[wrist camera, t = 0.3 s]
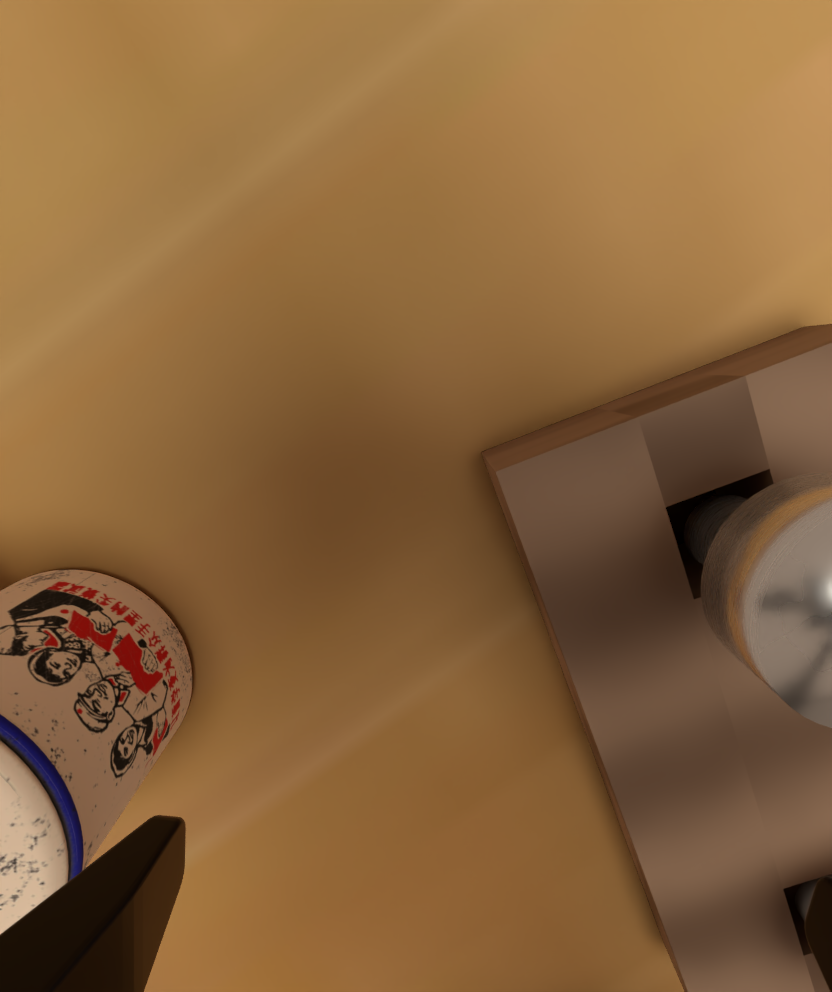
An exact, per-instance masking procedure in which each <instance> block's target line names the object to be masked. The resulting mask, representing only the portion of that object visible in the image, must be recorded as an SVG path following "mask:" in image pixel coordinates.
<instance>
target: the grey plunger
mask: <svg viewBox="0 0 832 992" xmlns="http://www.w3.org/2000/svg"><path fill="white" fill-rule="evenodd" d="M684 542H685V545H686V548H687V550H688V552H689V553H690V555H691V556H692V557H693V558H694V559H695V560H696V561H698V562H699V563H701V564H702V565H703V570H702V575H701V599H702V605H703V609H704V614H705V616H706V619H707V621H708V624H709V626H710V628H711V629H712V631H713V633H714V635H715V636H716V637H717V639H718V640H719V641H720V642H721V644H722V645H723V646H724V647H725V648H726V649H728V650H729V651H730V652H731V653H732V654H733V655H734V656H735V657H736V658H737V659H738V660H740V661H741V662H742V663H743V664H744V665H745V666H746V667H747V668H748V669H749V670H750V671H752V672H753V673H754V674H755V675H756V676H757V677H758V678H759V679H760V680H761V681H763V682H764V683H765V684H766V685H767V686H768V687H769V688H770V689H771V690H772V691H774V692H775V693H776V694H777V695H778V696H779V697H780V698H781V699H782V700H783V701H785V702H786V703H787V704H788V705H789V706H790V707H791V708H792V709H794V710H795V711H797V712H798V713H799V714H801V715H802V716H804V717H806V718H808V719H810V720H812V721H814V722H816V723H818V724H821V725H824V726H827V727H830V728H832V473H810V474H804V475H799V476H795V477H791V478H788V479H785V480H782V481H779V482H777V483H775V484H772V485H770V486H768V487H766V488H765V489H763V490H761V491H759V492H758V493H756V494H755V495H753V496H752V497H750V498H749V499H746V498H743V497H740V496H738V495H733V494H720V495H716V496H713V497H710V498H708V499H706V500H704V501H703V502H701V503H700V504H699V505H698V506H697V507H696V508H695V509H694V510H693V511H692V512H691V514H690V515H689V517H688V519H687V521H686V524H685V528H684Z"/></svg>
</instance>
